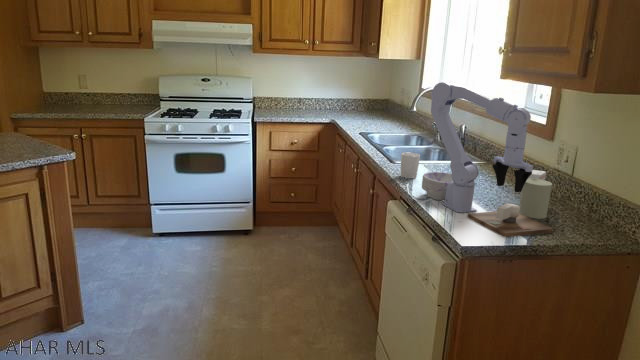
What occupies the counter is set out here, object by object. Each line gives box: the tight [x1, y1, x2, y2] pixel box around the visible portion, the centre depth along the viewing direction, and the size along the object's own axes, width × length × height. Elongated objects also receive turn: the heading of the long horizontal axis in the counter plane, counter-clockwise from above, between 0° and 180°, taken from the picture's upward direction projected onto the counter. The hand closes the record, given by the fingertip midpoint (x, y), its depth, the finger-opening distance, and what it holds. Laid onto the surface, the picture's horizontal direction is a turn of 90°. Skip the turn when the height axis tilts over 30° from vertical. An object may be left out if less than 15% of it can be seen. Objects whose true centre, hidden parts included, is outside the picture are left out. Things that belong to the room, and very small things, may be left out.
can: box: [518, 178, 553, 220], centre depth 161 cm, size 9×9×12 cm
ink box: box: [529, 169, 547, 181], centre depth 174 cm, size 9×5×12 cm, turn 141°
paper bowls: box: [421, 171, 453, 202], centre depth 176 cm, size 15×15×8 cm
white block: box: [496, 203, 520, 220], centre depth 148 cm, size 10×5×4 cm, turn 132°
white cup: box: [400, 151, 421, 179], centre depth 203 cm, size 8×8×10 cm
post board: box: [467, 210, 554, 238], centre depth 150 cm, size 18×18×3 cm
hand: (509, 188), depth 153 cm, fingers open, 7 cm apart
